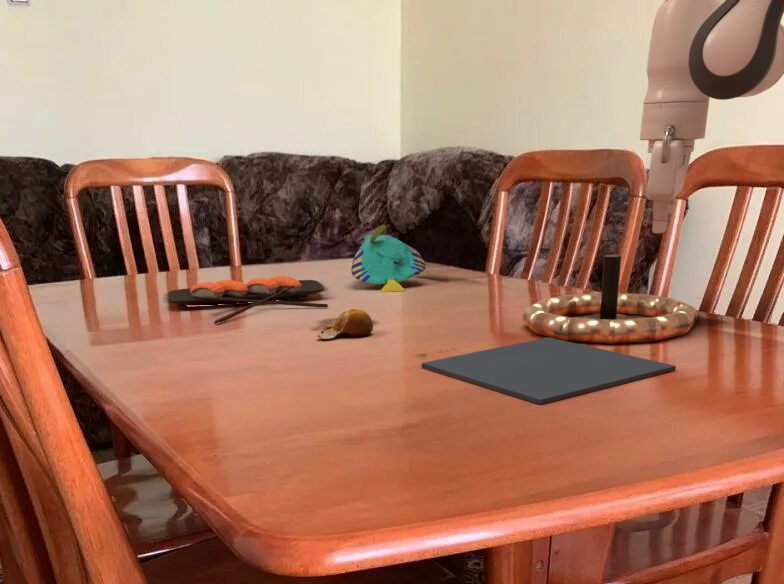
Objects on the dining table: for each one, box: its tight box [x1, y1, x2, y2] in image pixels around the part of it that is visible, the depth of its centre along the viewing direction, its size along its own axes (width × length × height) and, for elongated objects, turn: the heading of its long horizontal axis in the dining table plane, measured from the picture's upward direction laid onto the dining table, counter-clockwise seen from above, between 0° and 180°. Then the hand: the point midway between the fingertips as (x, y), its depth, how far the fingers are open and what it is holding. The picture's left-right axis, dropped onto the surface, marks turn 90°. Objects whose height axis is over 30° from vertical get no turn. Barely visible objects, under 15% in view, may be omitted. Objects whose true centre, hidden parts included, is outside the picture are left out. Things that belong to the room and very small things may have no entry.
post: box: [577, 254, 639, 320], centre depth 121 cm, size 8×8×10 cm
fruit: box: [316, 308, 374, 340], centre depth 125 cm, size 8×8×4 cm
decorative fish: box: [351, 224, 427, 293], centre depth 167 cm, size 20×12×15 cm
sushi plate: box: [167, 275, 329, 324], centre depth 151 cm, size 29×30×4 cm
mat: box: [421, 336, 677, 406], centre depth 103 cm, size 22×22×1 cm
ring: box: [522, 292, 698, 345], centre depth 123 cm, size 24×24×3 cm
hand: (661, 229), depth 123 cm, fingers open, 8 cm apart
